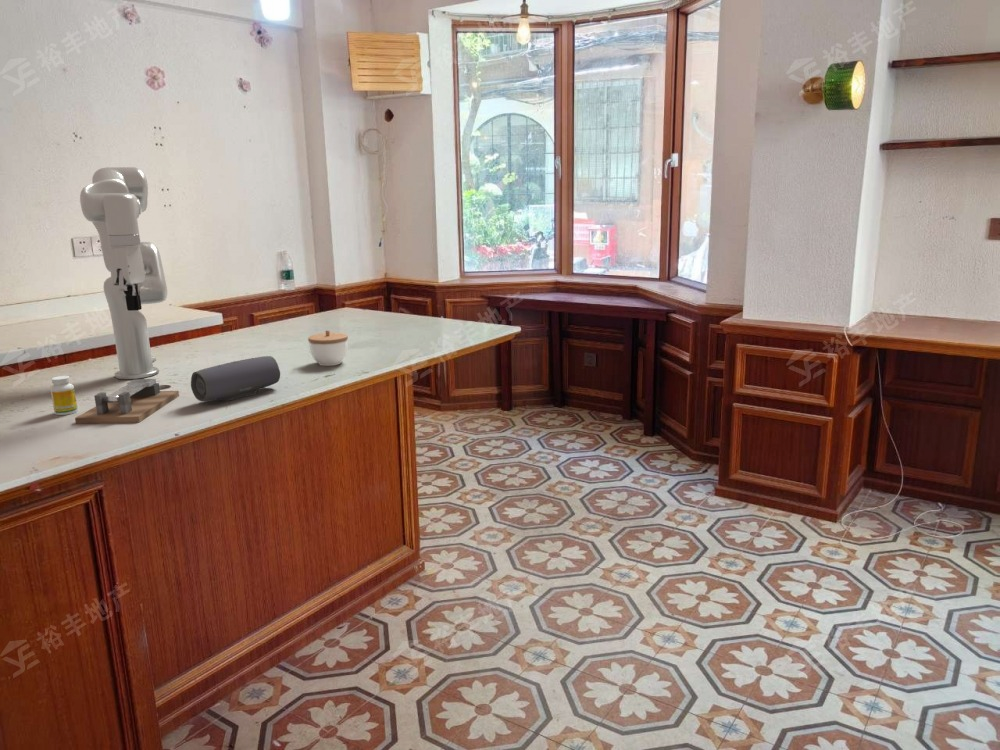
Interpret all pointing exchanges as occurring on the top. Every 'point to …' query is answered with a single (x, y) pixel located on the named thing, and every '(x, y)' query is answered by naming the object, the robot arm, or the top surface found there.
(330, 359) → the lidded bowl
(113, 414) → the walnut board
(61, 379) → the supplement bottle
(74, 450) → the top surface
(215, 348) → the top surface
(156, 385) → the catch block
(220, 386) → the bluetooth speaker
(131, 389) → the lever
